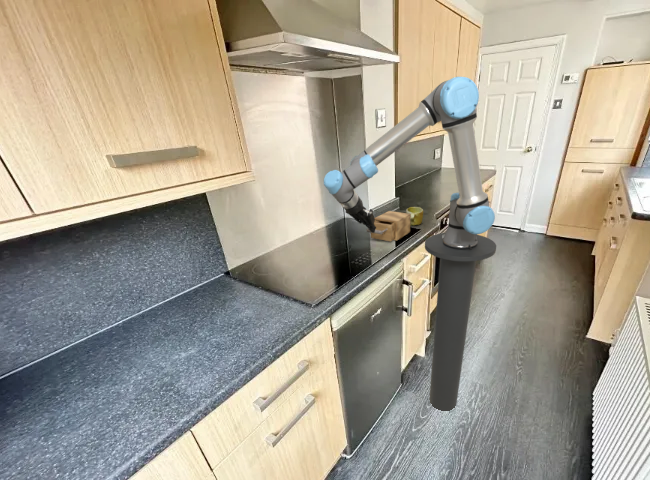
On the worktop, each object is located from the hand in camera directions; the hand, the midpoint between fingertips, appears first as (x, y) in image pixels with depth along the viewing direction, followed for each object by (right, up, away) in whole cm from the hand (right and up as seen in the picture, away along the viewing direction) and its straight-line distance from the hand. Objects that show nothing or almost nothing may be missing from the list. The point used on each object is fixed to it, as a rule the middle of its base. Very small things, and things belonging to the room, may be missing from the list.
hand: (373, 229), depth 146 cm
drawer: (+6, -2, +10) cm, 12 cm away
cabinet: (+10, +1, +17) cm, 19 cm away
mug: (+23, +8, +30) cm, 38 cm away
